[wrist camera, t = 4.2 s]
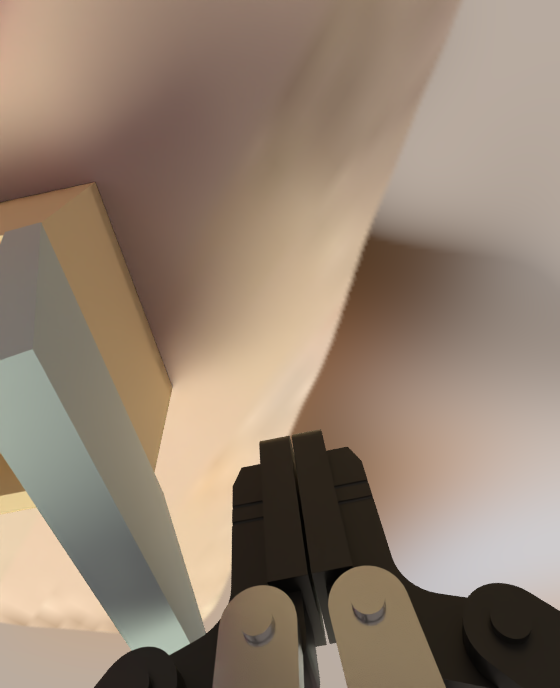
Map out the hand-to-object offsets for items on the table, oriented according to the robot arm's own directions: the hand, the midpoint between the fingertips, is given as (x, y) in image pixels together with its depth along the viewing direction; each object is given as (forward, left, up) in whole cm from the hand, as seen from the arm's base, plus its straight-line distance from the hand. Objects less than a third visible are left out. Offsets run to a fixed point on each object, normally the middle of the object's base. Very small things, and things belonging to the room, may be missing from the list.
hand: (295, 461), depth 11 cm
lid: (0, -5, -1) cm, 5 cm away
